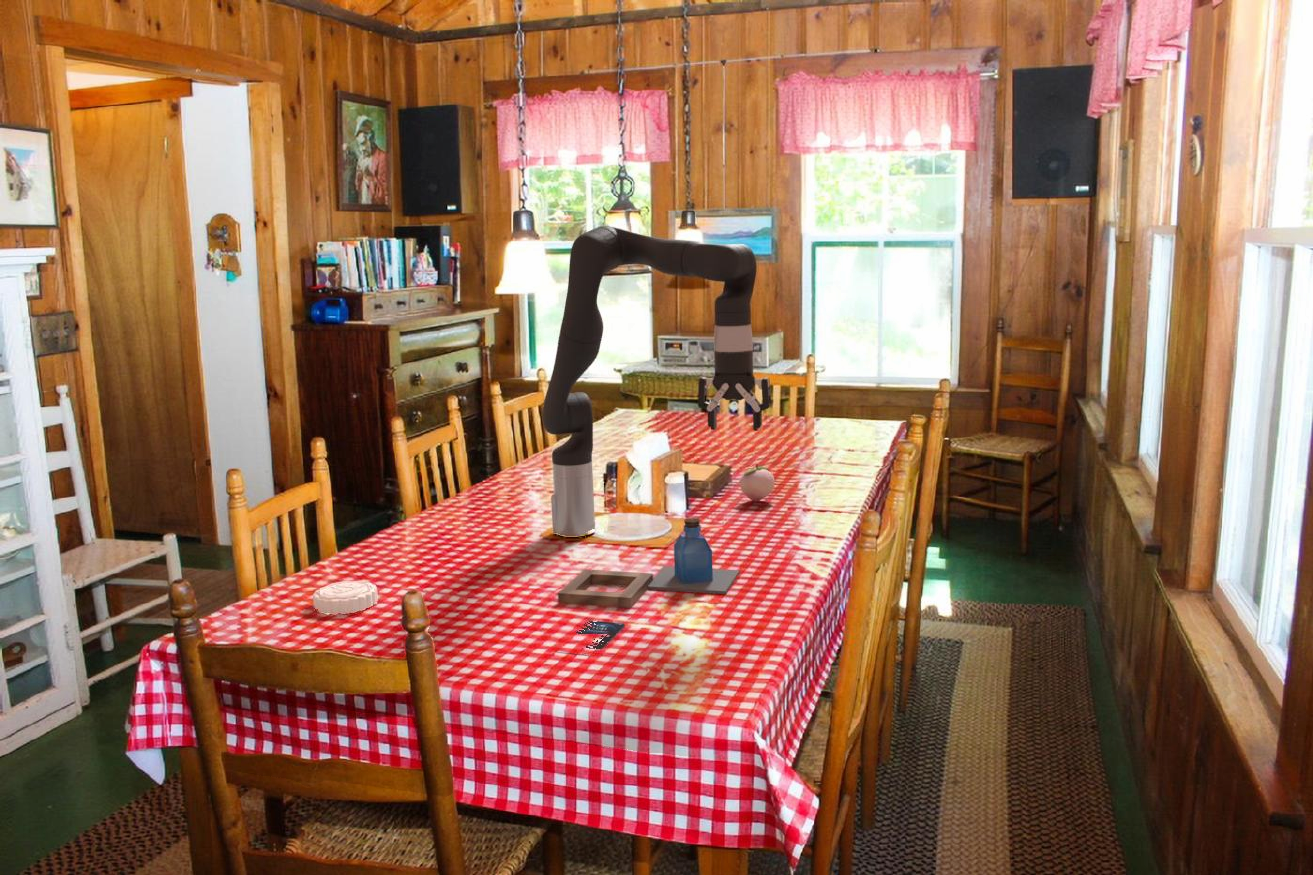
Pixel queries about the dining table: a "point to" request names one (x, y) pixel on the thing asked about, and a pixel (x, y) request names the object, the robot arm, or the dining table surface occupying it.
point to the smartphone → (602, 632)
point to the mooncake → (345, 597)
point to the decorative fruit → (757, 483)
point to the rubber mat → (672, 583)
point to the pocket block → (579, 594)
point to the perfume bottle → (692, 555)
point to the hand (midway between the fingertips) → (735, 429)
